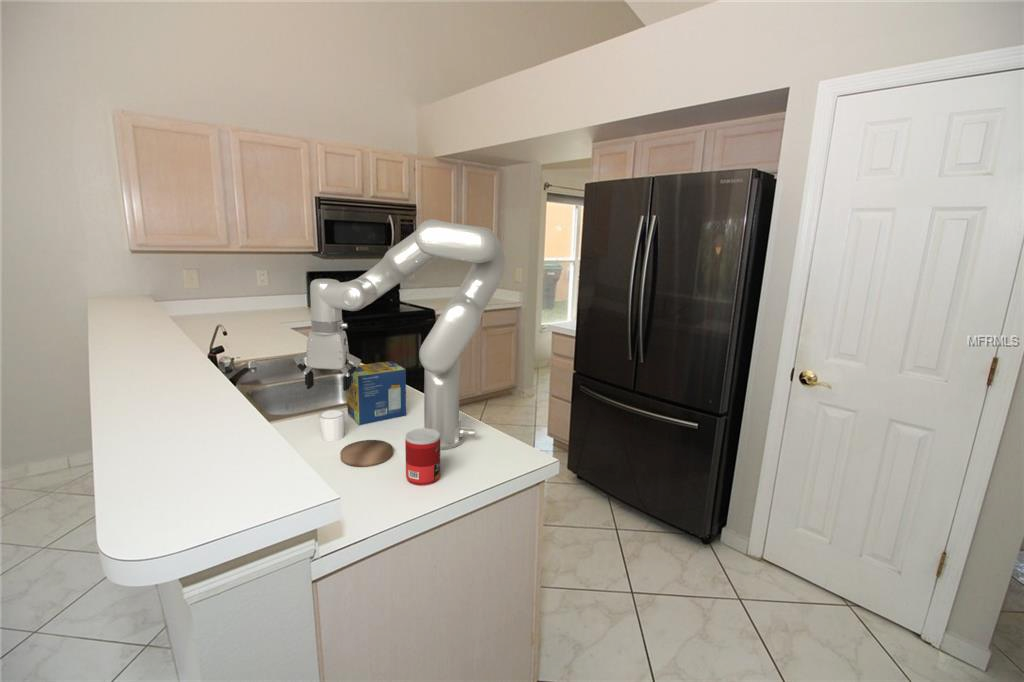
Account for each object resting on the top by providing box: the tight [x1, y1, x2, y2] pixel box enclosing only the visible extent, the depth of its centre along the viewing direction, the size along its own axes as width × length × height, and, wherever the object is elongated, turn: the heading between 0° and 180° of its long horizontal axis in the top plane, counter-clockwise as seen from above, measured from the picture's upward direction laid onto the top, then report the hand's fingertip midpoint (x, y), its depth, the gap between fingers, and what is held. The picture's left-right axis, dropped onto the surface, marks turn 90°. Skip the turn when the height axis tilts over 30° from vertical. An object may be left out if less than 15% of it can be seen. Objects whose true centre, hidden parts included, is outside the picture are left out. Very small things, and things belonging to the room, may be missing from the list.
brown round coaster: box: [339, 439, 394, 468], centre depth 123 cm, size 13×13×1 cm
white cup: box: [318, 409, 346, 443], centre depth 131 cm, size 7×7×7 cm
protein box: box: [346, 360, 407, 426], centre depth 147 cm, size 10×15×16 cm
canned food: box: [404, 427, 441, 486], centre depth 112 cm, size 8×8×11 cm
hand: (328, 388), depth 129 cm, fingers open, 9 cm apart
